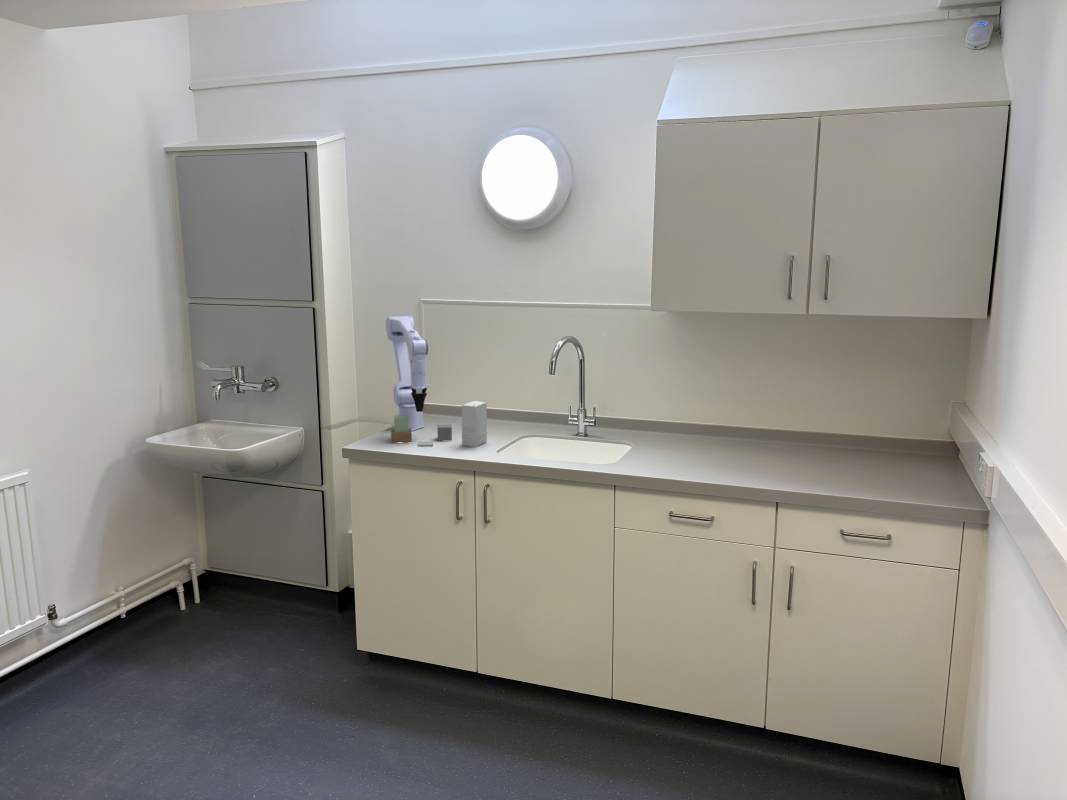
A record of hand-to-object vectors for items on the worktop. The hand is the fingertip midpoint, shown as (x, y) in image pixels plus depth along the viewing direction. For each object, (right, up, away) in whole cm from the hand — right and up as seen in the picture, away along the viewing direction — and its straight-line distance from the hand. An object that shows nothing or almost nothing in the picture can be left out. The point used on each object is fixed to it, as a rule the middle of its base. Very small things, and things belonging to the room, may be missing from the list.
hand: (419, 409), depth 284 cm
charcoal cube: (+9, -11, -1) cm, 14 cm away
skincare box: (+21, -12, -8) cm, 25 cm away
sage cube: (-6, -7, -3) cm, 10 cm away
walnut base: (-6, -12, -3) cm, 13 cm away
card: (+4, -12, -9) cm, 16 cm away
